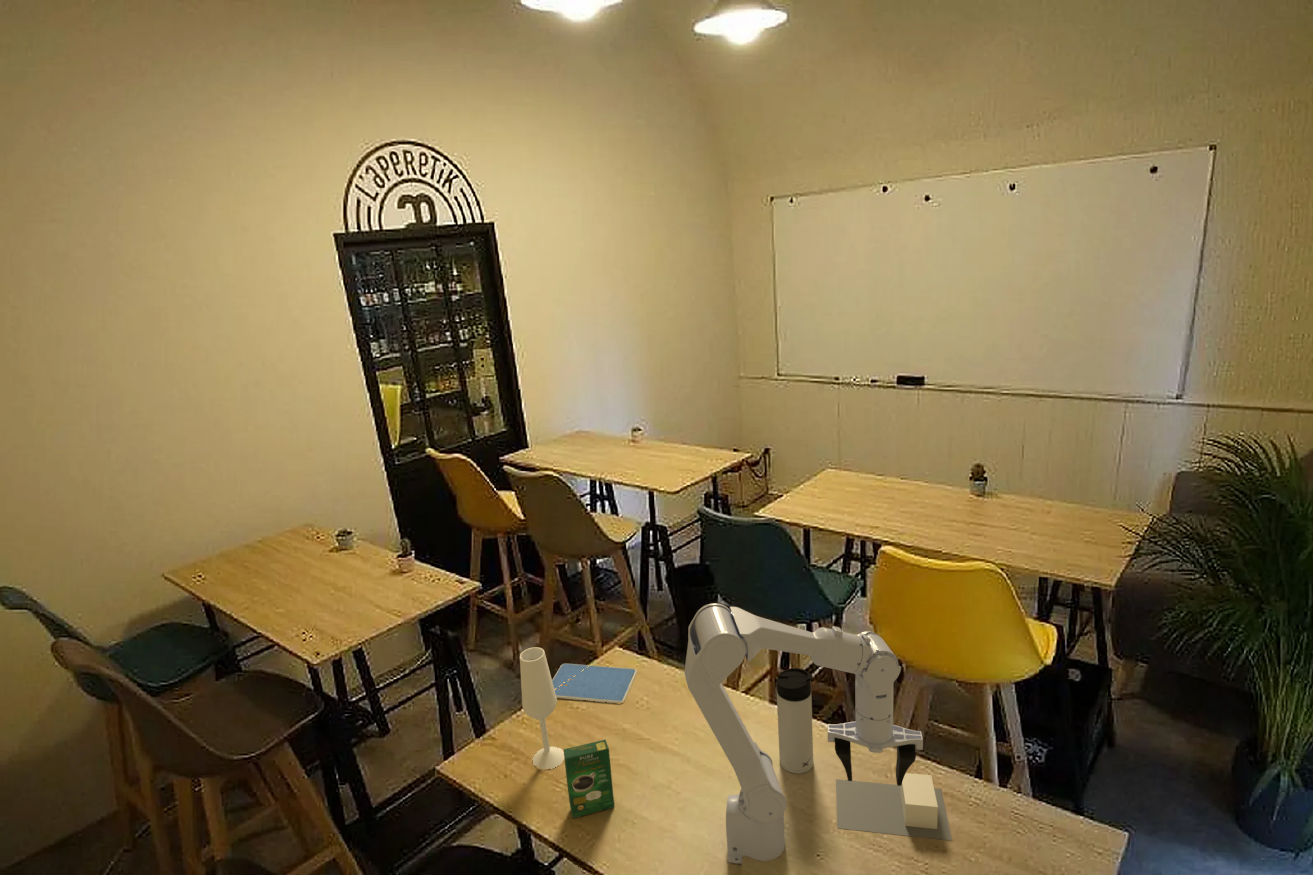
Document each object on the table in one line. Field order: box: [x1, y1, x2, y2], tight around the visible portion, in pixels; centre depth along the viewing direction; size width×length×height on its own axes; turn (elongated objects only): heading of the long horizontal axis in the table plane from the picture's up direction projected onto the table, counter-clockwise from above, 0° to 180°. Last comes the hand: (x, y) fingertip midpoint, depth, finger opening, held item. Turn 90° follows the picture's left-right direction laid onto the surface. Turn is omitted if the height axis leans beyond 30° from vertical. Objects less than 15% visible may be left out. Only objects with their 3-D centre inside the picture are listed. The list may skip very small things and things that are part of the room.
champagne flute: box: [519, 646, 565, 770], centre depth 137 cm, size 7×7×24 cm
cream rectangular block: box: [900, 772, 938, 829], centre depth 118 cm, size 5×7×4 cm
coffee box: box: [563, 739, 615, 819], centre depth 125 cm, size 8×3×13 cm, turn 104°
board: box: [835, 778, 953, 842], centre depth 120 cm, size 18×11×4 cm, turn 77°
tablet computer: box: [552, 663, 638, 704], centre depth 162 cm, size 19×13×1 cm, turn 76°
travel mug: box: [775, 667, 814, 775], centre depth 130 cm, size 6×7×20 cm
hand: (874, 778), depth 114 cm, fingers open, 7 cm apart
